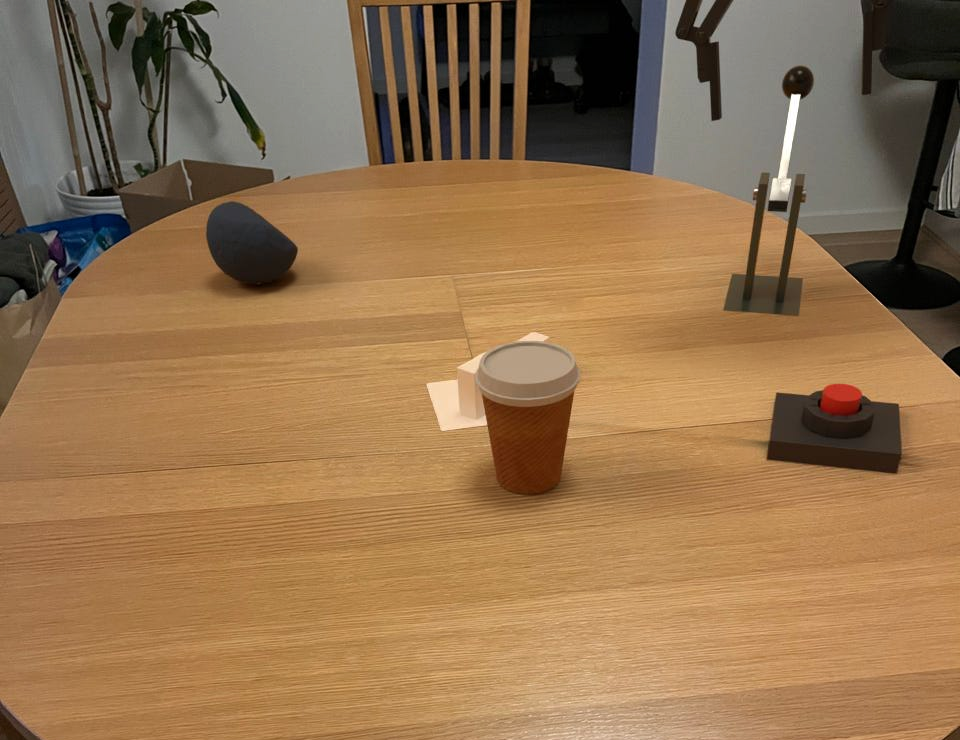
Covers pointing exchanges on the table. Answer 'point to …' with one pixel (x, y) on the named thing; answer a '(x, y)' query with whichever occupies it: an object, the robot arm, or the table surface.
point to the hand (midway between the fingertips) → (789, 107)
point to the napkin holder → (464, 395)
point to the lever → (789, 133)
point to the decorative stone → (248, 244)
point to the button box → (835, 434)
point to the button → (841, 399)
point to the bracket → (768, 290)
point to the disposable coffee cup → (528, 411)
